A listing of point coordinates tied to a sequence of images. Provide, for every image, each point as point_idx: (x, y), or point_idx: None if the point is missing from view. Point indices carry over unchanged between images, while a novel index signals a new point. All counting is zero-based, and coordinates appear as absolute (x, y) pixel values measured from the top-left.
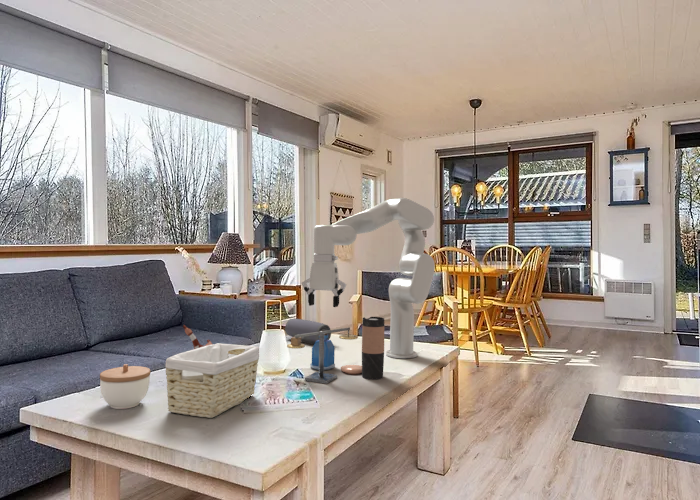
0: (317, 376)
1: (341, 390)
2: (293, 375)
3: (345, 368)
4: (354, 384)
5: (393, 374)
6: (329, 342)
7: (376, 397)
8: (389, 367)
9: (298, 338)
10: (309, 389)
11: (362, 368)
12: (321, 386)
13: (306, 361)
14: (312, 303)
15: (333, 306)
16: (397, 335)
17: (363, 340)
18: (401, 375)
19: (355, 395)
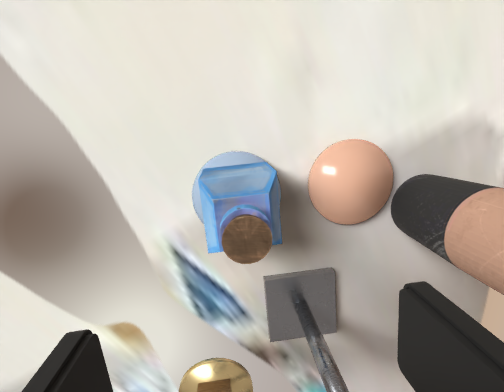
0: (294, 314)
1: (387, 349)
2: (210, 312)
3: (331, 202)
4: (398, 294)
5: (471, 145)
6: (272, 211)
7: None
8: (440, 62)
9: None
10: (317, 381)
11: (412, 237)
12: (331, 349)
13: (132, 145)
14: (99, 387)
15: (404, 369)
16: None
17: (500, 292)
18: (496, 143)
19: None
